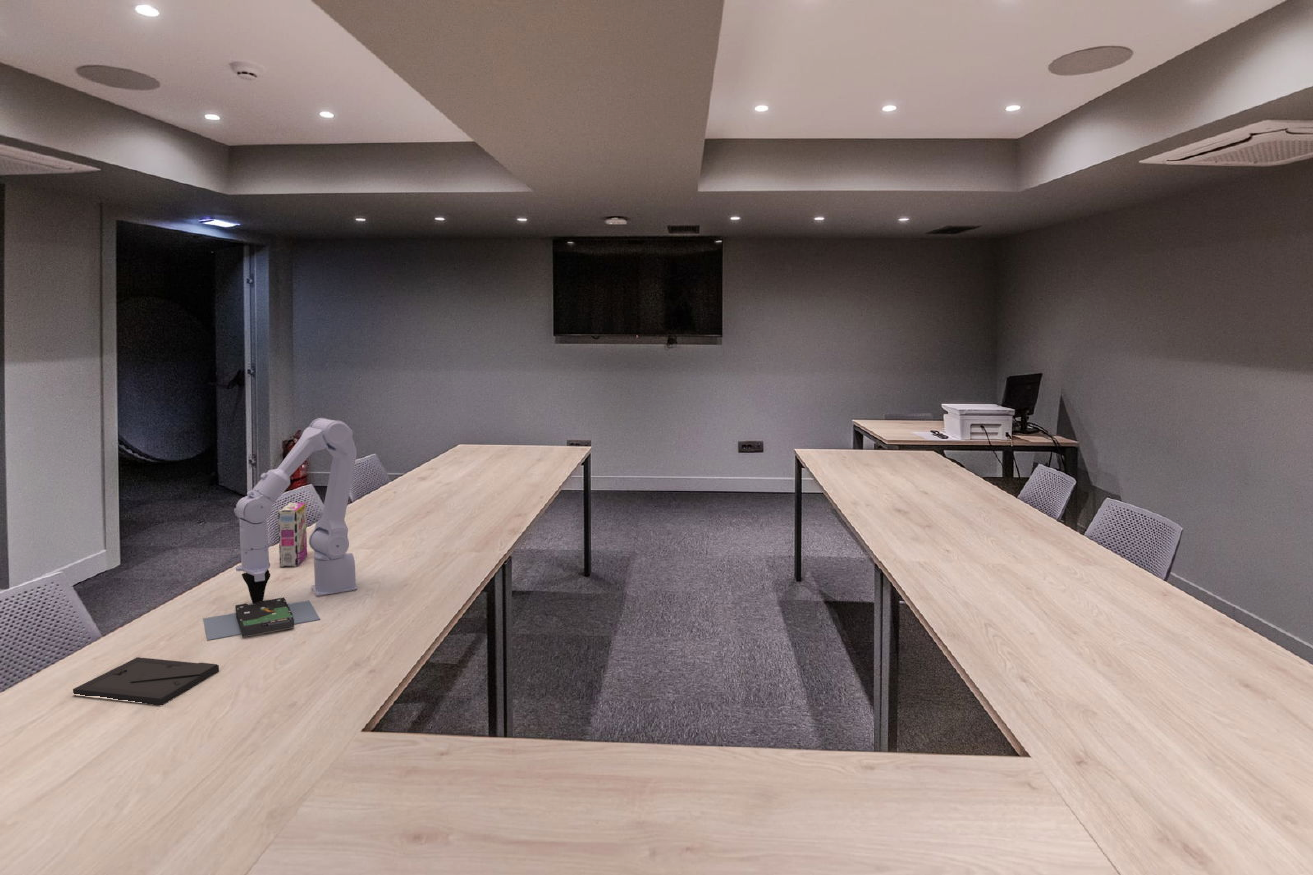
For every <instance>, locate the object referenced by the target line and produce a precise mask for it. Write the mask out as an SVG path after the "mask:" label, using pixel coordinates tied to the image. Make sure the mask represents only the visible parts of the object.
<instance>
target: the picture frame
mask: <svg viewBox="0 0 1313 875" xmlns="http://www.w3.org/2000/svg"><path fill="white" fill-rule="evenodd" d="M219 672H220V666H219V664H217V663H216V664H215V663H208V662H189V661H180V660H179V661H178V660H170V659H169V660H168V659H159V658H152V657H151V658H149V657H140V656H139V657H138V656H137V657H134V658H133V659H131V660H129V661H126V662H125V663H123V664H120V665H119V666H117V667H115V668H112V669H111V670H108V671H106V672H105V673H102V674H101V675H98V676H97V677H94V678H93V679H90V680H89V681H87V682H85V683H84V682H83V684H81V685H78V686H77V687H74V688H72V693H74V694H80V695H85V696H100V697H107V698H113V699H118V700H128V701H135V702H142V703H147V704H146V705H150V704H153V705H152V706H159V705H162V706H163V705H166V704H167V703H169V702H170V701H172V700H174V699H175V698H177V697H178V696H180V695H182V694H183V692H184V693H185V692H188V691H189V690H190V689H192V688H193V687H195V686H197V685H198V684H201V683H202V682H204V681H206V680H207V679H209V678H211V677H213V676H214V675H216V674H218V673H219ZM176 696H177V697H176ZM173 698H174V699H173ZM169 700H170V701H169ZM168 701H169V702H168Z"/></svg>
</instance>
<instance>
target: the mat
mask: <svg viewBox="0 0 1313 875" xmlns="http://www.w3.org/2000/svg"><path fill="white" fill-rule="evenodd" d="M287 604H288V606H289V608H290V610H291V612H292V614H293V618H294V626H295V625H298V624H300V625H301V624H304V623H305V624H306V623H309V622H310V623H311V622H315V621H320V620H321V617H320V616H319V614H318V613H317V611H316V609H315V608H314V606H313V604H312V603H311V601H310V600H304V601H298V602H291V603H287ZM203 623H204V624H203V625H204V630H205V635H206V642H207V641H214V640H219V639H224V638H230V637H234V636H235V637H236V636H240V635H241V636H242V634H241V632H240V627H239V624H238V621H237V618H236V612H232V613H228V614H227V613H226V614H222V615H221V614H220V615H215V616H211V617H205V618H203Z"/></svg>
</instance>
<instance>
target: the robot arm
mask: <svg viewBox="0 0 1313 875" xmlns="http://www.w3.org/2000/svg"><path fill="white" fill-rule="evenodd" d="M353 434H354V430H352V428H350V427H349V426H348V425H347V424H346V423H345V422H344V421H341V420H333V419H328V418H325V417H319V418H316V419H313V420H312V422H311V423H310V424H309V426H308V427H306V428H305V429H304V430H303V431H302V434H301V436H300V438H299V439H298V440H297V442H296V443H295V445H294V446H293V447H292V448H291V450H290V451H289V452H288V453H287V454H286V457H285V458H283V460H282V462H281V463H280V464H279V466H277V468H275V469H269V470H268V471H267V472H263V473H262V474H261V475H260V478H261V479H260V480H259V481H258V482H257V484H255V485H254V487H253V488H252V489H251V490H248V491H247V493H246V495H247V496H244V497H242V498H240V499H239V500H238V501H237V503H236V504H235V508H233V512H234V515H235V516H236V517H237V518H238V520H239V543H240V545H239V546H240V560H241V565H237V566H235V571H236V572H243V573H241V577H242V579H243V581H244V583H246V585H247V589H248V592H249V597H250V601H251V602H252V604H254V603H256V602H258V601H264V600H265V599H264V598H265V591H266V587H267V584H268V582H269V580H270V578H271V573H270V570H269V569H270V568H271V562H270V552H269V537H268V532H269V531H268V521H267V520H268V518H270V517H271V515H272V507H273V505H274V504H275V503H276V502H277V501H278V499H280V497H281V496H282V495H283V494H284V492H285V491H286V490H287V489H288V488H289V486H290V485H291V476H292V475H293V474H294V473H295V472H296V471H297V470H298V468H300V466H302V464H303V463H304V462H305V461H306V460H307V459H308V458H309V457H310V456H311V454H312V453H314V452H317V451H322V450H327V451H328V453H329V454H330V455H331V456H332V461H331V466H330V467H331V468H330V473H329V476H328V482H327V488H326V493H325V498H324V503H323V507H322V508H323V509H322V513H321V517H320V518H319V519H318V520H317V521H316V523H315V526H314V529H313V531H312V532H311V534H310V535H309V537H308V545H309V548H311V549H312V550H313V566H314V567H313V568H314V570H313V571H314V585H310V588H311V589H312V591H313V593H314V594H315V596H316V597H321V596H326V595H327V596H328V595H332V594H338V593H343V592H351V591H355V590H357V580H356V561H355V557H354V555H353V553H351V552H348V550H349V548H350V540H349V537H348V534H349V533H348V532H349V529H348V525H347V524H346V521H345V518H346V513H347V512H346V511H347V508H348V502H349V496H350V492H351V487H352V482H353V475H354V471H355V467H356V466H355V465H356V462H357V455H358V454H357V453H358V452H357V447H356V444H355V442H354V438H353Z"/></svg>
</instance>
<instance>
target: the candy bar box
mask: <svg viewBox="0 0 1313 875" xmlns="http://www.w3.org/2000/svg"><path fill="white" fill-rule="evenodd" d="M306 506H307V503H306V502H289V503H287V504H286V505H284V506H283V507H282V508H280V509H279V510H277V514H278V516H277V517H278V518H277V519H278V520H277V521H278V547H279V551H278V552H279V568H297V567H299V565H300V564H301V563H302V562H303V561H304V560H305V558H306V557H307V556H308V544H307V543H308V542H307V540H308V539H307V534H308V533H307V507H306Z"/></svg>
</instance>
